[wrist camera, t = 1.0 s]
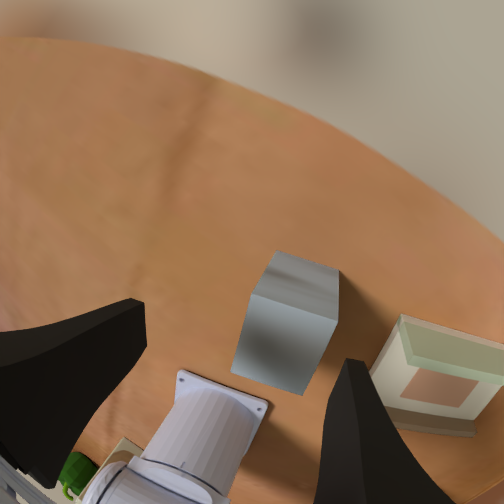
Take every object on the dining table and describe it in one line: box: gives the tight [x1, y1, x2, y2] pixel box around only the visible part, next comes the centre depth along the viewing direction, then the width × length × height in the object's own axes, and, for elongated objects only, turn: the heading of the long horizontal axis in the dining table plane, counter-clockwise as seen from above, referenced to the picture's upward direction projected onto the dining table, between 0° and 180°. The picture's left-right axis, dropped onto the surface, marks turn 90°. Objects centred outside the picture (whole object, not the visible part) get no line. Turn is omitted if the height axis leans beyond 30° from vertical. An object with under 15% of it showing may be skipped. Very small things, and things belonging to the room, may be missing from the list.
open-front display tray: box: [369, 313, 504, 437], centre depth 17 cm, size 8×12×4 cm, turn 77°
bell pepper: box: [58, 452, 98, 501], centre depth 38 cm, size 8×8×10 cm
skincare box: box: [75, 437, 143, 504], centre depth 28 cm, size 6×4×12 cm
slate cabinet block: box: [230, 250, 339, 395], centre depth 17 cm, size 5×4×6 cm
